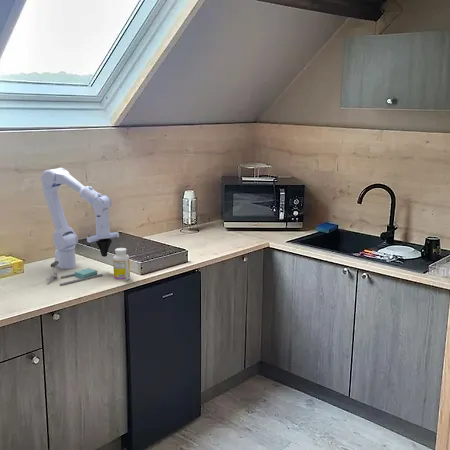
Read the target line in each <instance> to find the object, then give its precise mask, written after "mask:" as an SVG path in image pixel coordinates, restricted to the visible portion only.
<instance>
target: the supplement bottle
mask: <svg viewBox="0 0 450 450" xmlns="http://www.w3.org/2000/svg"><path fill="white" fill-rule="evenodd" d="M114 253H115V254H114V255H113V257H112V264H113V265H112V266H113V270H112V271H113V278H114V279H115V280H126V281H128V280H129V279H130V278H131V269H130V268H131V266H130V264H131V263H130V256H129V255H128V254H127V248H126V247H117V248H115V249H114Z"/></svg>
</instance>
